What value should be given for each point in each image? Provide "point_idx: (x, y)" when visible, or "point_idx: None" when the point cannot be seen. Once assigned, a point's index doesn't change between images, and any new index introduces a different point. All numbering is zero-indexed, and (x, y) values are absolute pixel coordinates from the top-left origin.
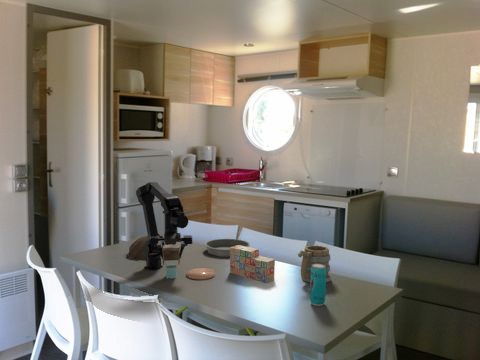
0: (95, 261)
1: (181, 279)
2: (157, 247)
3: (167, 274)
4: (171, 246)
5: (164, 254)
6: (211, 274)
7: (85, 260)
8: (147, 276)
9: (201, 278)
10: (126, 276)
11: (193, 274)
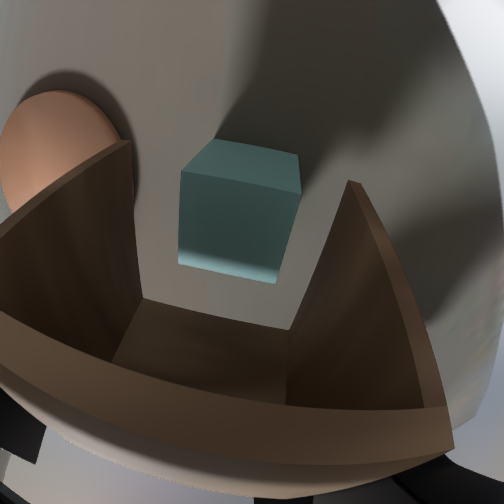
0: (451, 408)
1: (173, 101)
2: (478, 474)
3: (285, 163)
4: (161, 474)
5: (288, 388)
6: (6, 141)
7: (462, 410)
8: (409, 246)
9: (48, 91)
10: (488, 278)
11: (81, 149)
